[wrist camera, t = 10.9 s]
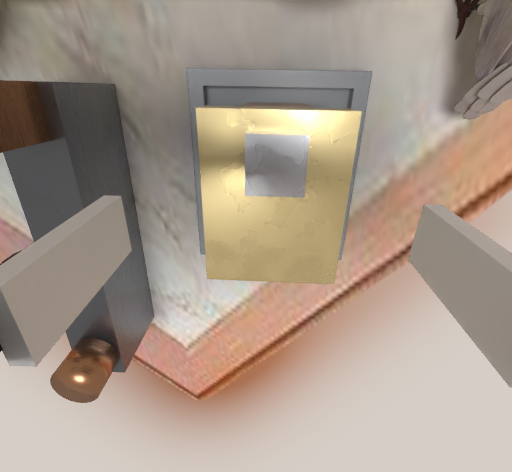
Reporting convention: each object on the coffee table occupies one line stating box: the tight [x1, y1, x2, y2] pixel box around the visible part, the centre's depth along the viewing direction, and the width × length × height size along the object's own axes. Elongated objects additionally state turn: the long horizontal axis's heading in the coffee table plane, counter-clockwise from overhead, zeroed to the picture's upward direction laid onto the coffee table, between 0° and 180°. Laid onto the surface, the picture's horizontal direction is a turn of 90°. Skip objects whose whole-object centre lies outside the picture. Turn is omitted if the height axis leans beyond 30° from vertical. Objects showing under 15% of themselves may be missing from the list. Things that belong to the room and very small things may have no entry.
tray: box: [187, 68, 372, 260], centre depth 22 cm, size 14×12×6 cm
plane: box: [0, 80, 154, 403], centre depth 22 cm, size 22×4×11 cm, turn 179°
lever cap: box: [196, 105, 362, 284], centre depth 17 cm, size 10×8×4 cm
